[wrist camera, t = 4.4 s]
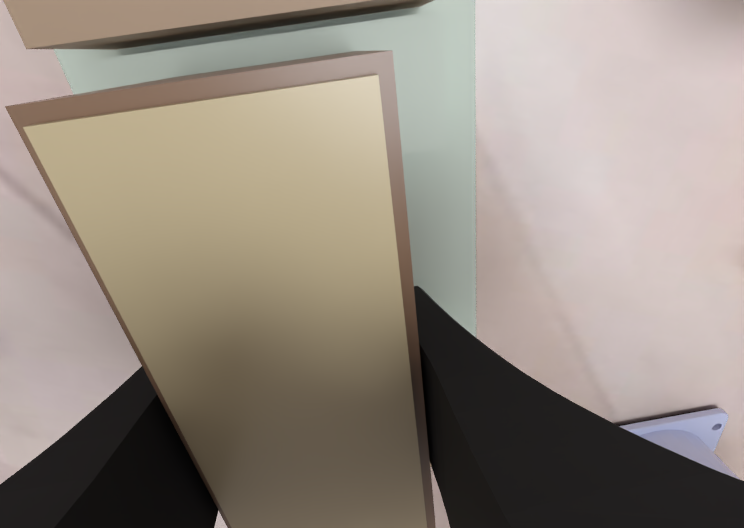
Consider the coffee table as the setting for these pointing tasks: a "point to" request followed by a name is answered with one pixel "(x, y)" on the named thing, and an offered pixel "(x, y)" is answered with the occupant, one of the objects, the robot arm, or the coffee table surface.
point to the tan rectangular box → (259, 276)
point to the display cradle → (297, 41)
